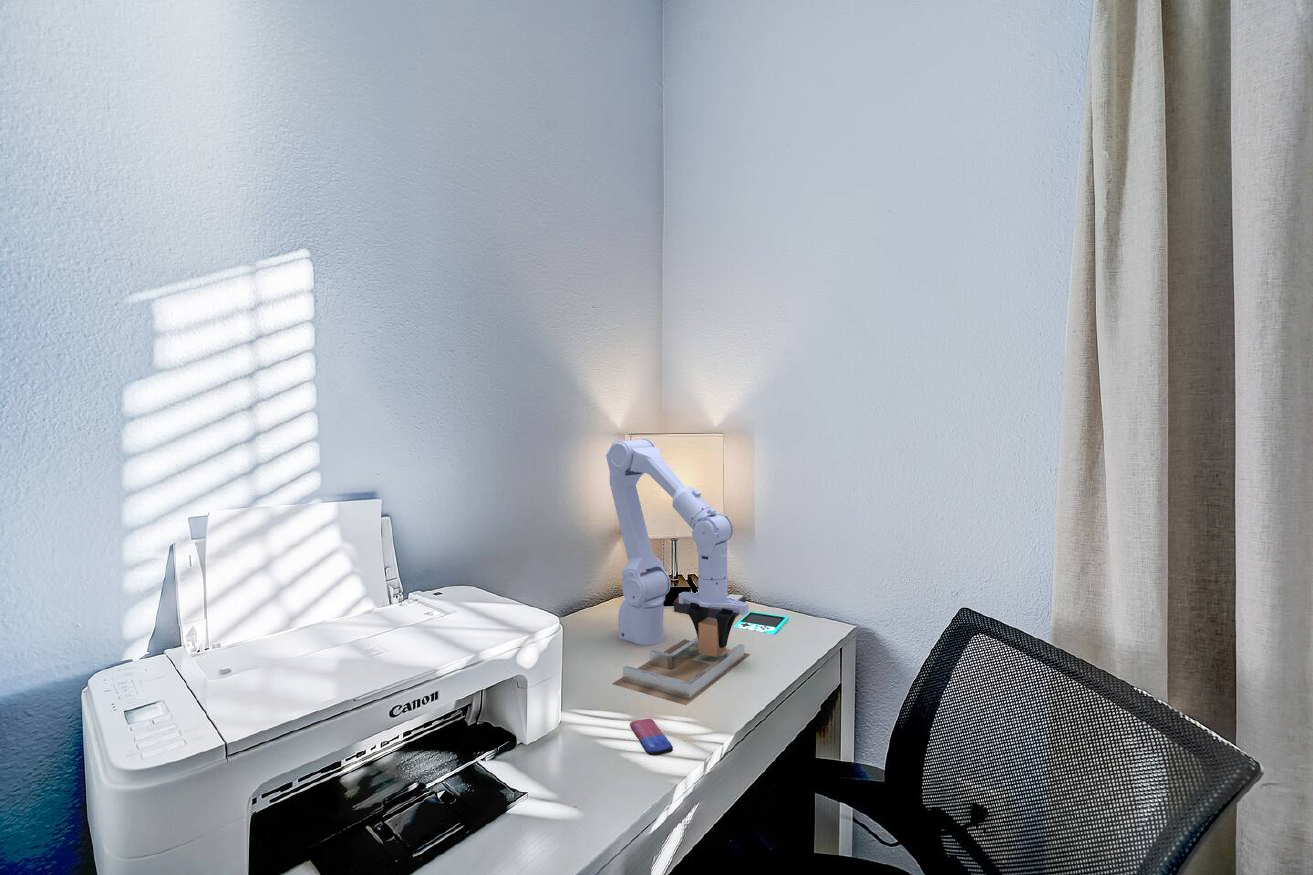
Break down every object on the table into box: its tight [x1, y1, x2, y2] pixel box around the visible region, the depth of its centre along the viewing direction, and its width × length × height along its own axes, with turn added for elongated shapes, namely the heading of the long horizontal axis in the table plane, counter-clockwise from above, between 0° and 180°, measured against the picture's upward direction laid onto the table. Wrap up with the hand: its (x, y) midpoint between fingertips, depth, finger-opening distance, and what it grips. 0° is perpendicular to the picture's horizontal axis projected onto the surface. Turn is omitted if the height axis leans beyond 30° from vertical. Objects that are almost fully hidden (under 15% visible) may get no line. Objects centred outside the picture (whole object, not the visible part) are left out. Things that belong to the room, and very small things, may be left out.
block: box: [699, 617, 727, 657], centre depth 126 cm, size 4×4×6 cm
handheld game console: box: [732, 611, 790, 636], centre depth 148 cm, size 10×16×1 cm, turn 153°
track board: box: [611, 638, 752, 706], centre depth 122 cm, size 16×26×1 cm, turn 147°
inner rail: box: [649, 636, 699, 670], centre depth 128 cm, size 5×13×2 cm, turn 147°
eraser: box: [629, 718, 674, 756], centre depth 97 cm, size 11×4×2 cm, turn 19°
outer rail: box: [622, 643, 745, 700], centre depth 121 cm, size 14×22×2 cm, turn 147°
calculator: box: [673, 592, 747, 619], centre depth 159 cm, size 11×4×15 cm
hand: (712, 643), depth 126 cm, fingers closed on block, 4 cm apart
